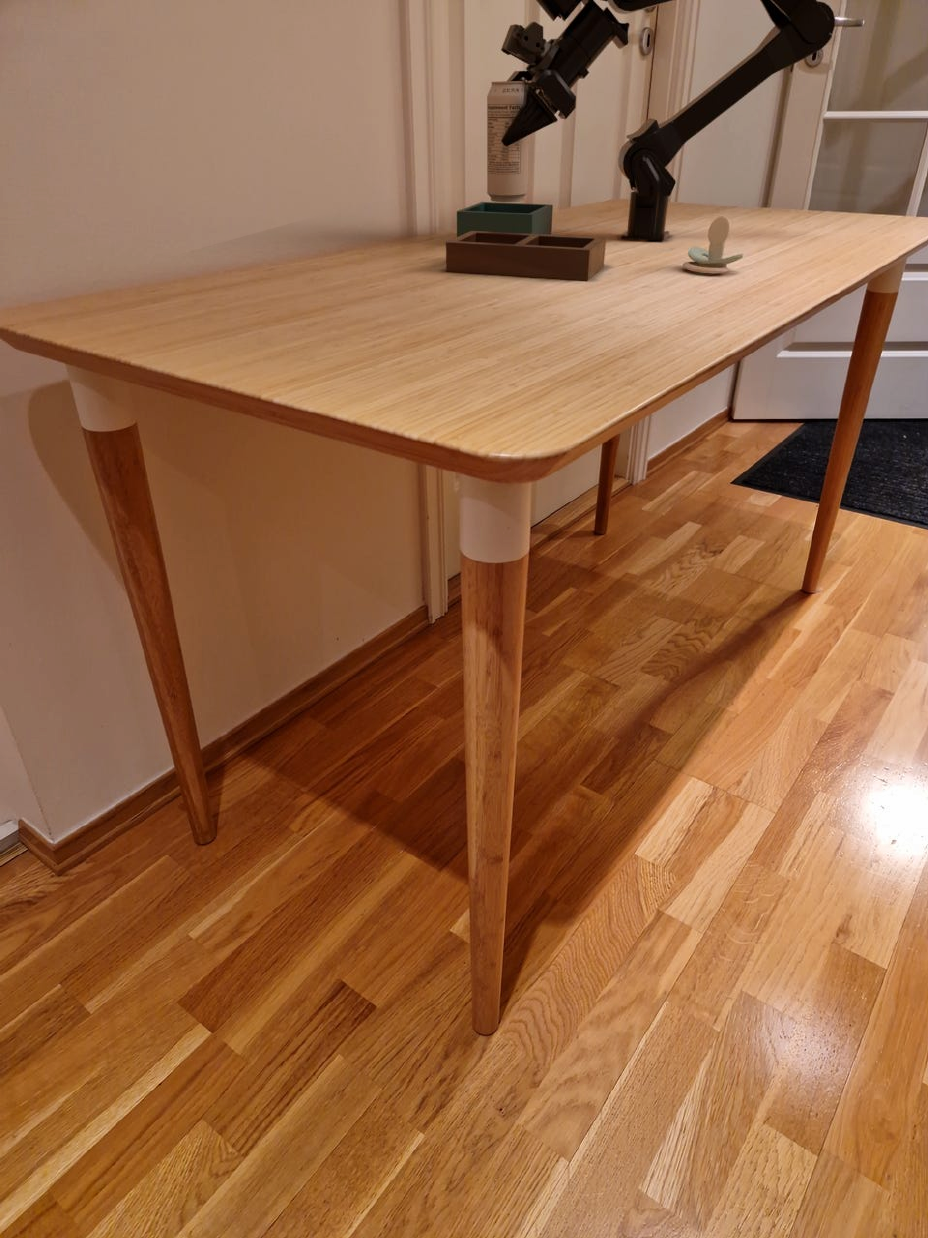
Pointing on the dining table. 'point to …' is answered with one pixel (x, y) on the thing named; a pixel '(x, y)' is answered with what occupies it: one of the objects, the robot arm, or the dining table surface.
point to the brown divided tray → (526, 255)
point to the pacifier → (712, 250)
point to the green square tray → (505, 218)
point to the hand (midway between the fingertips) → (498, 142)
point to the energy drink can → (504, 161)
